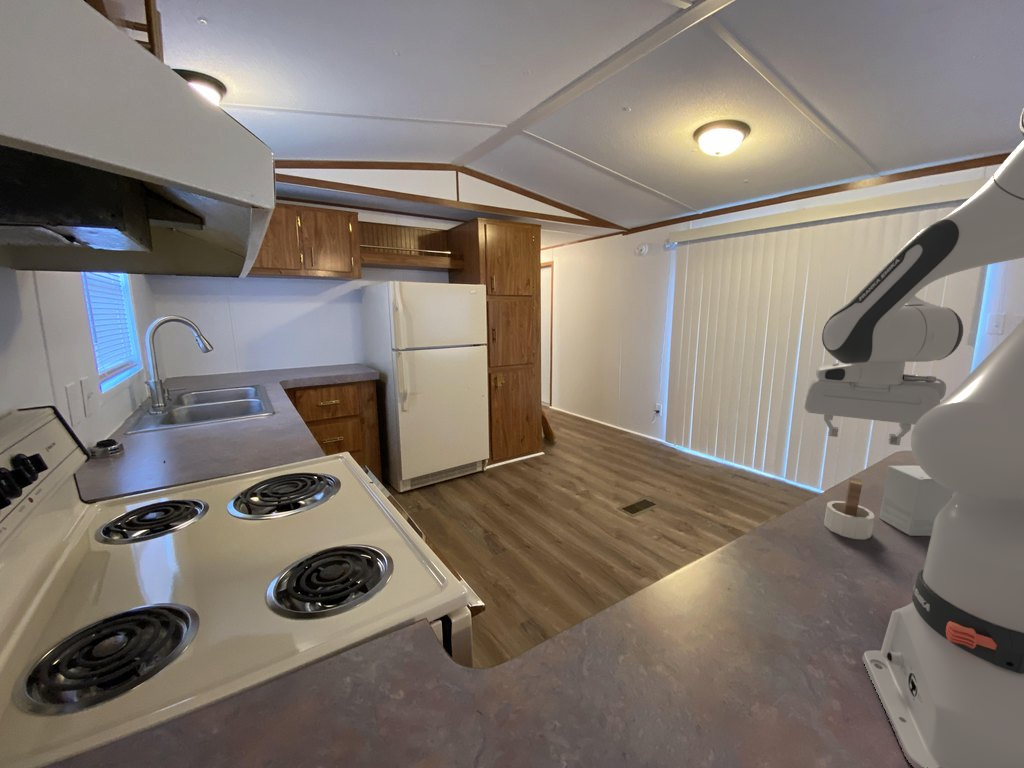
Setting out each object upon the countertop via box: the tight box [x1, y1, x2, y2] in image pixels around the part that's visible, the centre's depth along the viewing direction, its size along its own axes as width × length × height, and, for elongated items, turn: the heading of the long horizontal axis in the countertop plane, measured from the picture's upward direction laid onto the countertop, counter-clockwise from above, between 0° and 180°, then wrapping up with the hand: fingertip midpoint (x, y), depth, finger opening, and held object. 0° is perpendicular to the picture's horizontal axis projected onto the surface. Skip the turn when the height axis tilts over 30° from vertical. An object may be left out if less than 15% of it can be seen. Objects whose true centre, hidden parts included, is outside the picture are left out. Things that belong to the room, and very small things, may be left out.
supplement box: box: [879, 465, 954, 537], centre depth 86 cm, size 7×7×13 cm
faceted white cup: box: [823, 500, 875, 540], centre depth 86 cm, size 8×8×4 cm
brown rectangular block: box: [843, 477, 863, 517], centre depth 85 cm, size 3×2×10 cm, turn 143°
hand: (862, 439), depth 82 cm, fingers open, 8 cm apart
